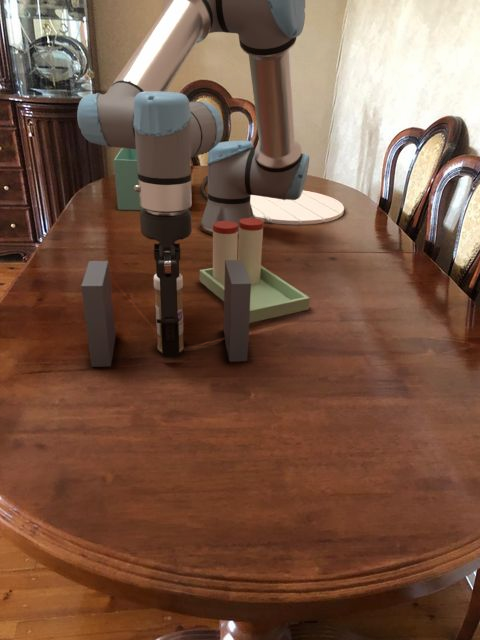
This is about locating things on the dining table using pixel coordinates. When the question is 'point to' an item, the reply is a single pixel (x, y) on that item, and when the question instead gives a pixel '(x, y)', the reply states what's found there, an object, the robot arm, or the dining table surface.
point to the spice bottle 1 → (223, 247)
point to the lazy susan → (297, 209)
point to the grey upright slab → (236, 310)
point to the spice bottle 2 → (251, 247)
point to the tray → (264, 295)
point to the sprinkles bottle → (179, 307)
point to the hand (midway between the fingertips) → (170, 341)
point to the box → (127, 179)
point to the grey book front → (99, 313)
